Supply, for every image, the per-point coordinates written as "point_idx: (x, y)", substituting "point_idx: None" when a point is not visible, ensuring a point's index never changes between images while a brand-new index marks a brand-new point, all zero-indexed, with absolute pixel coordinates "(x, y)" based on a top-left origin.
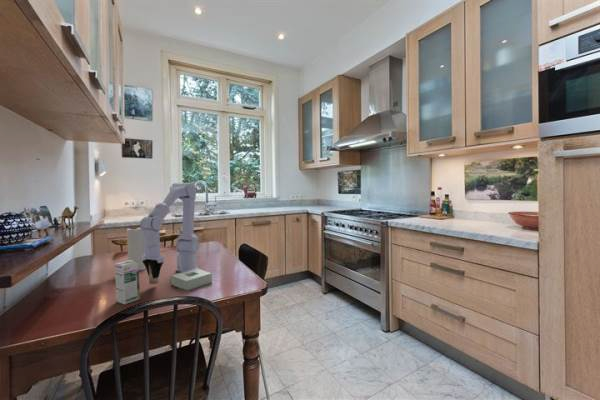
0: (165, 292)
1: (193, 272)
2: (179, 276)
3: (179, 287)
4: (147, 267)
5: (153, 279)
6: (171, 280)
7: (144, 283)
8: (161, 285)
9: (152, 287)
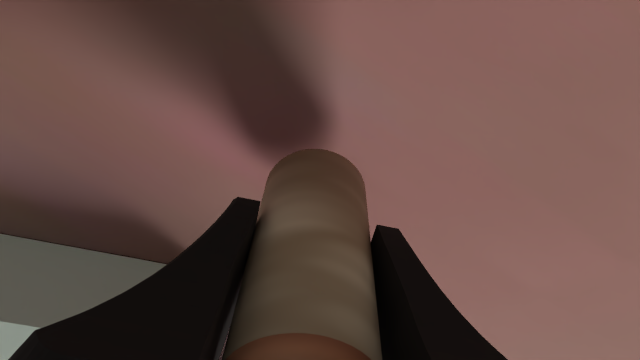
0: (34, 104)
1: None
2: None
3: (48, 244)
4: (410, 330)
5: (268, 197)
6: None
7: (534, 199)
8: None
9: None
